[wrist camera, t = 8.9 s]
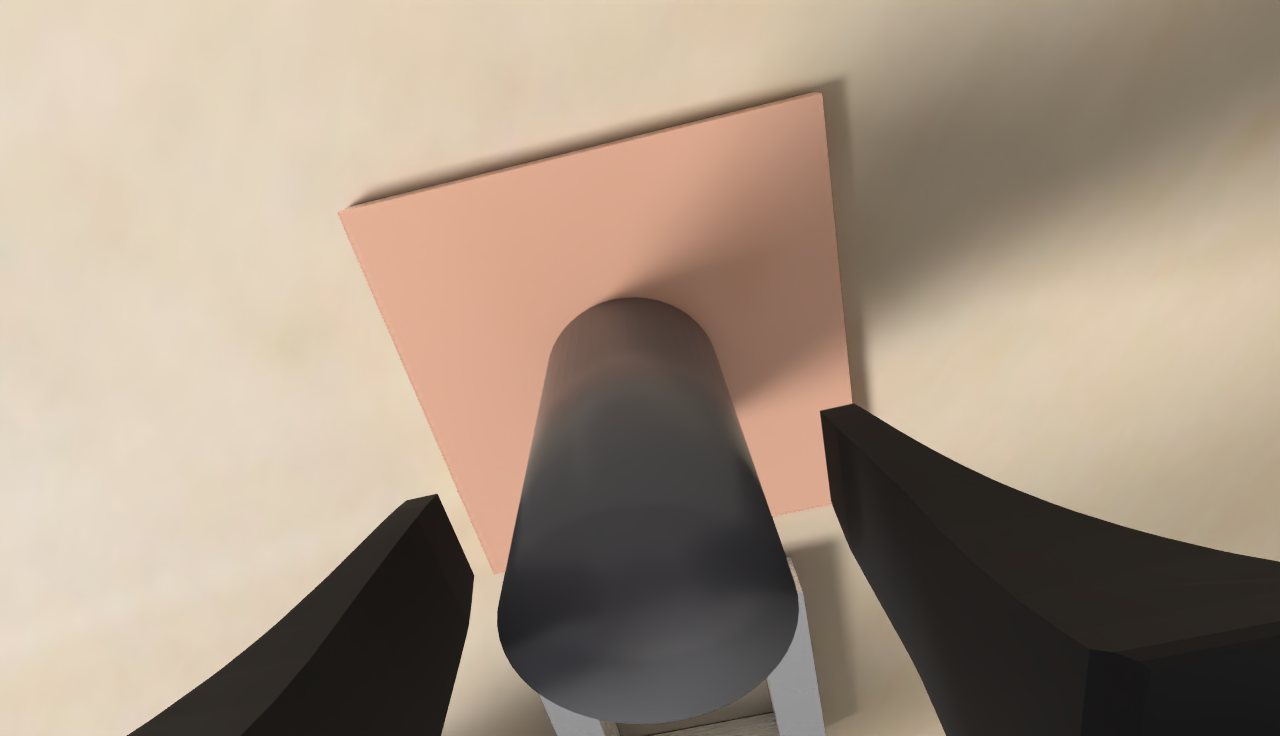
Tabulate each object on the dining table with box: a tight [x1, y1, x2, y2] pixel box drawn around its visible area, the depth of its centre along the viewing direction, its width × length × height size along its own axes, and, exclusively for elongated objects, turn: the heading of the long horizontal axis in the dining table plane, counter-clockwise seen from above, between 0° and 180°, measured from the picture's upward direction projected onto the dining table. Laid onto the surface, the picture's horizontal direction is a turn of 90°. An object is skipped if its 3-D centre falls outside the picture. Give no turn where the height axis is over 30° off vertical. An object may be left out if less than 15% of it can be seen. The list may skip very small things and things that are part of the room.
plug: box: [497, 297, 799, 724], centre depth 13 cm, size 4×4×8 cm
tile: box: [338, 92, 852, 574], centre depth 17 cm, size 11×11×1 cm
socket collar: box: [539, 557, 826, 736], centre depth 22 cm, size 9×9×2 cm
